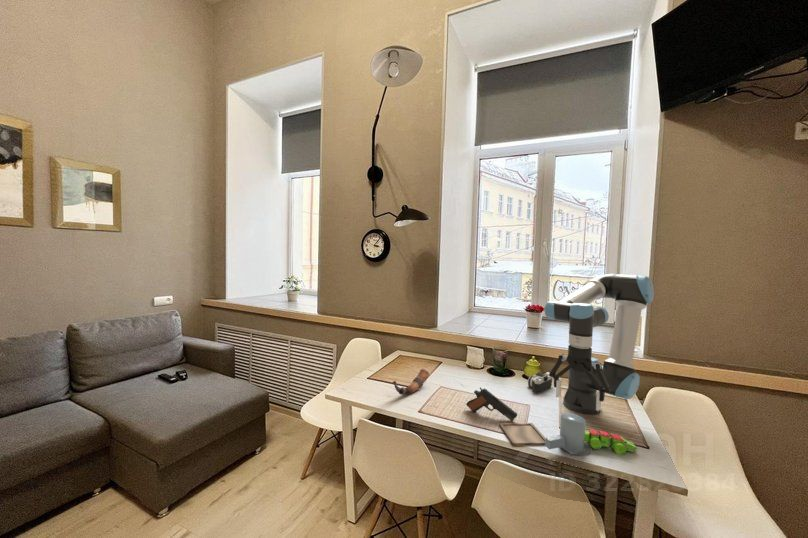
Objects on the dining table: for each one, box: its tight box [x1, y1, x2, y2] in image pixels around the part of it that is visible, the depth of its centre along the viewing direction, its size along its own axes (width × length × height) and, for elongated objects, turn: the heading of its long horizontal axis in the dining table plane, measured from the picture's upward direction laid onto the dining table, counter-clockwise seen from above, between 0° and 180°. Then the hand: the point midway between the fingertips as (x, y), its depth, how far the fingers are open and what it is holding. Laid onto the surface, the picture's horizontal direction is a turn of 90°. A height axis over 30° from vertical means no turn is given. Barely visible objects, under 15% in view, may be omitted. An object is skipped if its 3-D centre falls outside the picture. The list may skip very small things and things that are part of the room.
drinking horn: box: [392, 368, 430, 396], centre depth 159 cm, size 5×29×10 cm, turn 144°
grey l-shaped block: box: [544, 412, 587, 455], centre depth 114 cm, size 15×8×11 cm, turn 108°
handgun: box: [465, 387, 518, 422], centre depth 138 cm, size 2×19×12 cm, turn 62°
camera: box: [527, 371, 553, 394], centre depth 169 cm, size 16×9×10 cm, turn 129°
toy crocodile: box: [585, 429, 638, 455], centre depth 117 cm, size 20×7×6 cm, turn 76°
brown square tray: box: [498, 422, 547, 447], centre depth 124 cm, size 14×14×1 cm
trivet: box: [560, 442, 593, 456], centre depth 117 cm, size 11×11×1 cm
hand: (577, 402), depth 117 cm, fingers open, 13 cm apart
